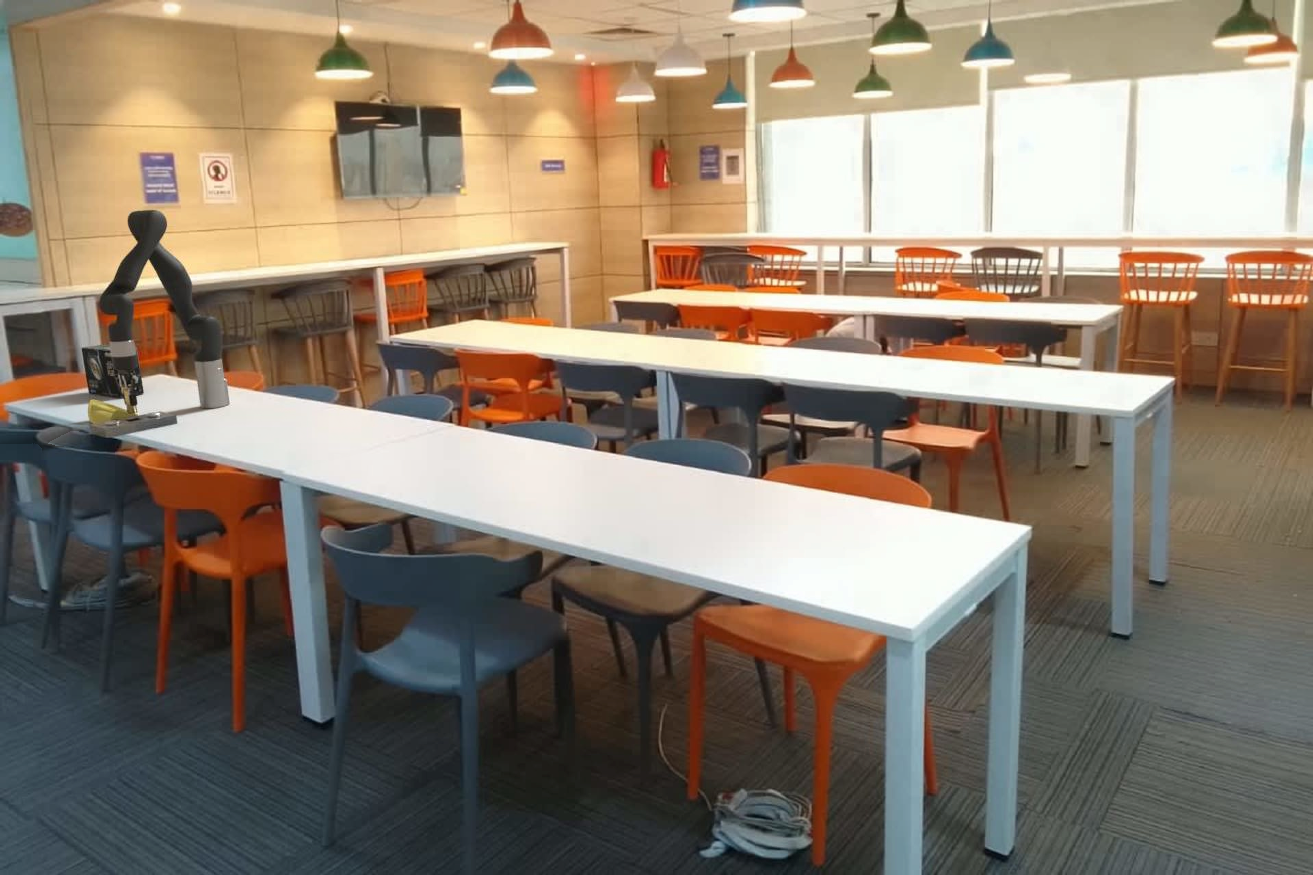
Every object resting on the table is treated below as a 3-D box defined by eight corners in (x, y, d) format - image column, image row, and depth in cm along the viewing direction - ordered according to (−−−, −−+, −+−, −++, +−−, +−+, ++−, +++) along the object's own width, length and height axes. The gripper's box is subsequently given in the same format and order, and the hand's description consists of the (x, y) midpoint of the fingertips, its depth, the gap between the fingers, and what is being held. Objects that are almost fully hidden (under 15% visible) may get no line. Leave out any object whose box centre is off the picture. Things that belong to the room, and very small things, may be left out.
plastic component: (140, 415, 364) (112, 408, 356) (133, 436, 363) (105, 429, 355) (114, 405, 376) (86, 397, 368) (107, 424, 375) (79, 417, 367)
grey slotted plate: (161, 419, 367) (159, 409, 366) (177, 423, 361) (175, 412, 360) (90, 433, 349) (89, 422, 348) (106, 437, 342) (104, 426, 341)
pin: (135, 411, 356) (131, 385, 354) (140, 412, 354) (136, 386, 352) (124, 413, 353) (119, 386, 351) (129, 414, 351) (125, 388, 349)
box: (87, 394, 419) (80, 347, 414) (111, 389, 427) (104, 343, 422) (120, 399, 406) (113, 350, 402) (144, 394, 414) (137, 347, 410)
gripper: (145, 354, 347) (152, 405, 351) (124, 350, 356) (132, 400, 360) (122, 357, 342) (130, 409, 346) (102, 354, 350) (109, 404, 354)
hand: (131, 404), depth 353 cm, fingers closed on pin, 3 cm apart
